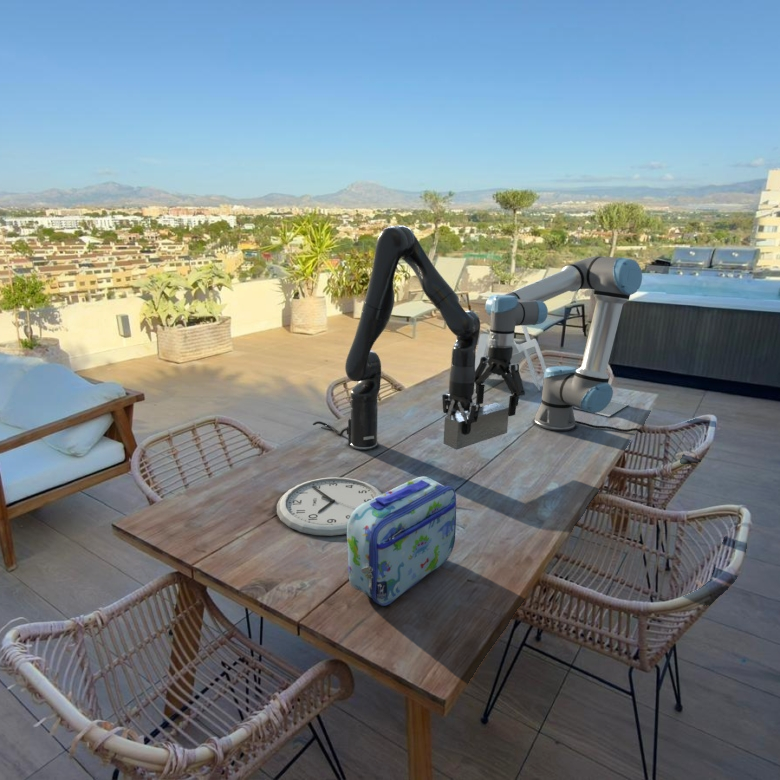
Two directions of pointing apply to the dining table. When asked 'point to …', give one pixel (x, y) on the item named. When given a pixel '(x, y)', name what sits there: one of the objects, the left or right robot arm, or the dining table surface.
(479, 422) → the box
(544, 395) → the right robot arm
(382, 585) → the lunch box
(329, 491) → the wall clock
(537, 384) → the white plastic object
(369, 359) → the left robot arm
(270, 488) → the dining table surface
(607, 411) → the invitation card
